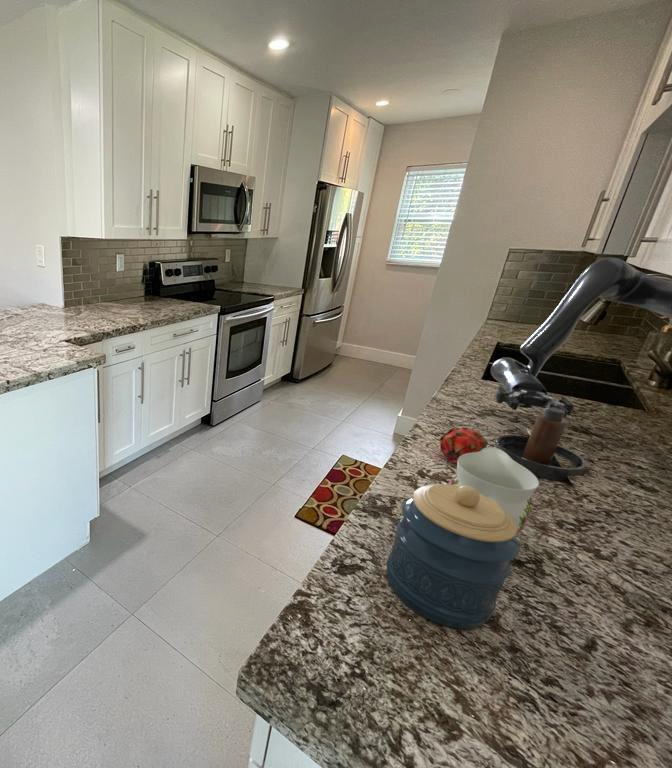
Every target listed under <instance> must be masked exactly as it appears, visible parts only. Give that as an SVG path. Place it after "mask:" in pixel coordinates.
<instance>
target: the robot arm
mask: <svg viewBox="0 0 672 768" xmlns="http://www.w3.org/2000/svg"><path fill="white" fill-rule="evenodd" d="M598 298H599V299H601V300H605V301H608V302H614V303H618V304H624V305H629V306H634V307H638V308H643V309H646V310H649V311H652V312H654V313H656V314H659V315H660V316H663V317H666V318H669V319H670V320H672V281H671V280H665V279H663V278H660V277H656V276H653V275H650V274H648V273H644V272H643V271H640V270H638V269H636V268H635V267H633V265H630V264H628V263H627V262H626V261H624V260H622V259H621V258H616V257H605V258H601V259H599V260H596V261H594V262H593V263H591V264H589V266H587V267H586V269H584V270H583V272H582V273H580V275H579V277H578V278H577V279H576V280H575V282H574V283H573V285H572V286H571V288H570V289H569V290H568V291H567V293H566V294H565V295H564V297H563V298H562V299H561V300H560V302H559V304H558V305H557V306H556V307H555V309H554V310H553V311H552V312H551V314H550V315H549V316H548V318H547V319H546V320H545V321H544V322H543V323H542V324H541V325H540V326H539V328H537V329H536V330H535V331H534V332H533V333H532V334H531V335H530V337H528V338H527V339H526V341H524V343H523V344H521V346H520V348H519V352H520V353H521V354H523V356H525V357H526V358H527V359H528V360H529V362H528V364H527V365H525V364H523V363H522V362H520V361H518V360H516V359H514V358H512V357H501V358H499V359H497V360H495V361H494V362H493V364H492V365H491V367H490V374H491V376H492V378H493V379H494V380H496V381H497V382H498V383H500V384H501V385H502V386H503V387H502V386H498V387H497V388H496V391H495V393H494V396H495V397H494V398H495V401H496V403H499V404H503V402H504V403H505V405H506V406H508V408H511V410H513V411H517V409H518V407H519V408H523V409H532V408H534V409H538V410H539V409H540V410H542V411H544V412H545V410H546V408H547V407H553V408H558V409H561V410H563V411H565V414H564V416H563V418H566V417H567V416H571V414H572V412H573V409H574V407H575V404H573V403H572V402H571V401H570V400H569V399H568V398H566V397H563V396H560V397H559V398H558V399H557V398H555V397H552V396H550V395H548V391H547V388H546V387H545V386H544V385H543V384H542V382H541V381H540V380H539V379H538V378H537V377H538V375H539V372H540V371H541V369H542V367H543V366H544V365H545V363H546V362H547V361H548V360H549V358H550V357H552V355H553V354H555V352H556V351H558V349H560V348H561V347H562V346H563V345H564V344H565V343H566V341H567V340H568V339H569V338H570V337H571V334H572V333H573V331H574V329H575V328H576V325H577V323H578V322H579V320H580V318H581V316H582V315H583V314H584V312H585V311H586V310H587V308H588V307H589V306H591V304H592V303H594V302H595V300H597V299H598Z"/></svg>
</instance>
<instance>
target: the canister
mask: <svg viewBox="0 0 672 768" xmlns="http://www.w3.org/2000/svg"><path fill="white" fill-rule="evenodd" d="M401 512H402V516H403V517H402V518H400V519H399V521H398V522H397V524H396V532H395V533H396V534H395V537H394V541H393V544H392V548H391V551H390V553H389V555H388V557H387V561H386V579H387V582H388V585H389V586H390V588H391V589H392V591H393V592H394V594H395V595H396V597H398V598H399V600H401V601H402V602H403V604H405V605H406V606H407V607H409V608H410V609H411V610H412V611H414V612H415V613H417V614H419V615H420V616H422V617H423V618H426V619H428V620H429V621H432V622H434V623H436V624H439V625H442V626H445V627H448V628H453V629H457V630H458V629H459V630H473V629H478V628H480V627H482V626H483V625H484V624H485V623H486V622H487V621H488V620H489V619H490V618H491V617H492V616H493V615H494V611H495V610H496V607H497V600H498V598H499V595H500V593H501V590H502V588H503V585H504V583H505V581H506V579H507V578H509V576H510V574H511V572H512V571H511V570H512V566H511V560H514V559H515V558H517V556H518V555H519V553H520V543H519V541H518V538H517V537H515V535H516V533H517V526H516V523H515V521H514V520H513V519H512V517H511V516H510V515H509V514H508V513H507V512H506V511H504V510H503V509H502V508H501V507H500V506H499V505H498V504H497V503H495V502H494V501H493V500H491V499H489V498H488V497H486V496H484V495H482V494H480V493H478V491H477V490H476V489H475V488H473V487H470V486H461V487H460V486H455V485H448V483H447V484H446V483H439V484H438V483H437V484H430V485H423V486H419V487H418V488H416V490H415V491H414V492H413V493H412V497H409V498H407V499H406V500H405V501H404V502H403V504H402V507H401Z"/></svg>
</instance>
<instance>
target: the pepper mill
mask: <svg viewBox="0 0 672 768" xmlns="http://www.w3.org/2000/svg"><path fill="white" fill-rule="evenodd" d="M564 414H565V411H563V410H561V409H558V408H556V407H554V408H553V407H547V408H546V410H545V411H544V413H538V414H537V416H536V418H535V421H534V424H533V426H532V428H531V429H532V432H531V434H530V436H528V437H529V439H528V442H527V445H526V447H525V450H524V452H523V455H522V457H523V458H525V459H528V460H531V461H534V462H537V463H540V464H544V465H550V463H551V460H552V458H553V456H555V454H556V453H555V451H556V448H557V446H558V445H559V443H560V442H561V439H562V437H563V436H562V435H564V434H563V433H564V431H565V429H566V426H567V423H568V420H566V418H564V417H563V416H564Z"/></svg>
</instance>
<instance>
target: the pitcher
mask: <svg viewBox="0 0 672 768" xmlns="http://www.w3.org/2000/svg"><path fill="white" fill-rule="evenodd" d="M456 465H457V466H456V473H455V474H454V475H453V476H452V477H451V478H450V480H449V481H448V483H447V484H448V485H455V486H460V487H461V486H470V487H473V488H475V489H476V490H477V491H478V493H480V494H482V495H484V496H486V497H488V498H489V499H491V500H493V501H494V502H495V503H497V504H498V505H499V506H500V507H501V508H502V509H503V510H504V511H506V512H507V513H508V514H509V515H510V516H511V517H512V519H513V520H514V521H515V523H516V526H517V533H516V535H515V537H516V538H517V537H518V536H519V534H521V533H522V531H523V530H524V528H525V526H526V525H527V523H528V521H529V517H530V514H531V497H532V495H533V494H534V493H535V491H536V490H537V489H538V488H539V485H540V481H539V479H538V477H537V476H535V475H534V474H533V473H532V472H530V471H529V470H528V469H526V468H525V467H523V466H522V465H520V464H518V463H517V462H515V461H514V460H512V459H511V457H510V456H509V455H508V454H506V453H505V452H504V451H502V450H500V449H498V448H494V446H488V447H487V446H486V447H485V448H484V449H482V450H481V451H479V452H473V453H467V454H463V455H461V456H460V457H459V458H458V461H457V463H456Z"/></svg>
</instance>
